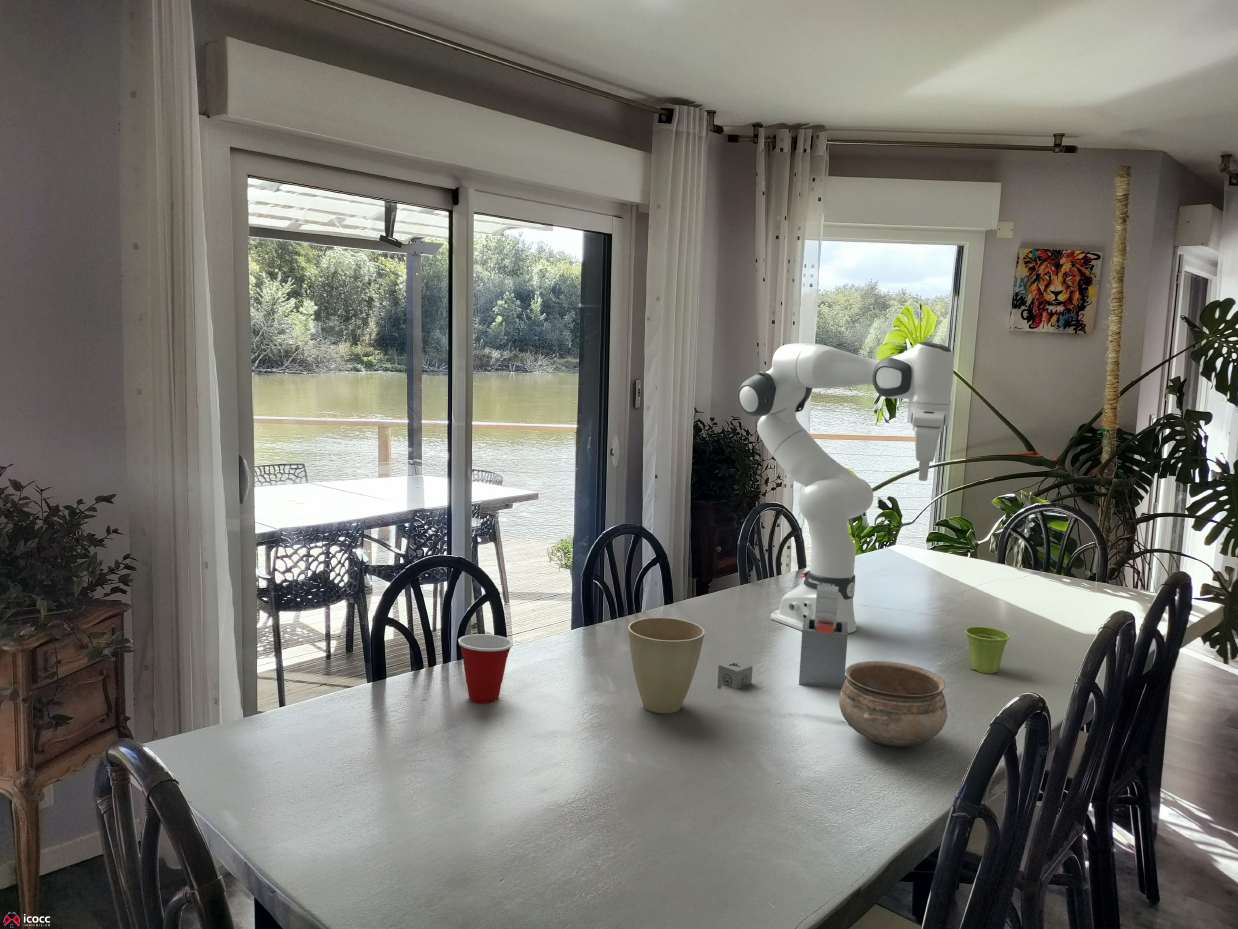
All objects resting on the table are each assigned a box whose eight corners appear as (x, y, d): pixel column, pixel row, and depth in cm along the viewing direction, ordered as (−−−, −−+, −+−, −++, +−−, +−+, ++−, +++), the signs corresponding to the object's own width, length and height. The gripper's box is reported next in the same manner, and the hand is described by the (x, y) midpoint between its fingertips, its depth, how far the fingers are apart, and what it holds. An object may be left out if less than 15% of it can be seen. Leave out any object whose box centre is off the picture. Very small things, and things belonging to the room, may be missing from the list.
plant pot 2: (1010, 678, 201) (1013, 641, 200) (965, 674, 203) (969, 636, 202) (1001, 664, 210) (1004, 628, 209) (958, 660, 212) (962, 624, 211)
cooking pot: (925, 782, 150) (931, 711, 149) (816, 752, 160) (820, 685, 159) (957, 731, 171) (963, 669, 170) (859, 707, 181) (863, 648, 180)
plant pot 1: (648, 727, 168) (651, 644, 166) (612, 698, 181) (614, 621, 179) (715, 714, 175) (719, 635, 173) (675, 688, 188) (679, 614, 186)
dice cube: (732, 682, 193) (733, 659, 192) (751, 689, 189) (752, 666, 189) (717, 687, 189) (718, 664, 189) (736, 694, 186) (737, 671, 185)
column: (810, 683, 191) (816, 590, 188) (811, 674, 196) (817, 584, 193) (832, 685, 189) (838, 592, 187) (832, 677, 195) (838, 586, 192)
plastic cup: (523, 698, 180) (524, 640, 178) (481, 713, 172) (482, 652, 170) (488, 683, 187) (489, 627, 185) (445, 697, 179) (446, 638, 177)
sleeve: (780, 693, 187) (785, 626, 185) (785, 668, 203) (789, 605, 201) (860, 703, 183) (865, 634, 182) (859, 676, 199) (863, 613, 197)
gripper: (914, 412, 211) (909, 471, 213) (912, 417, 192) (907, 482, 194) (943, 414, 209) (937, 473, 211) (944, 419, 190) (938, 484, 192)
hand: (923, 477), depth 202 cm, fingers open, 8 cm apart
